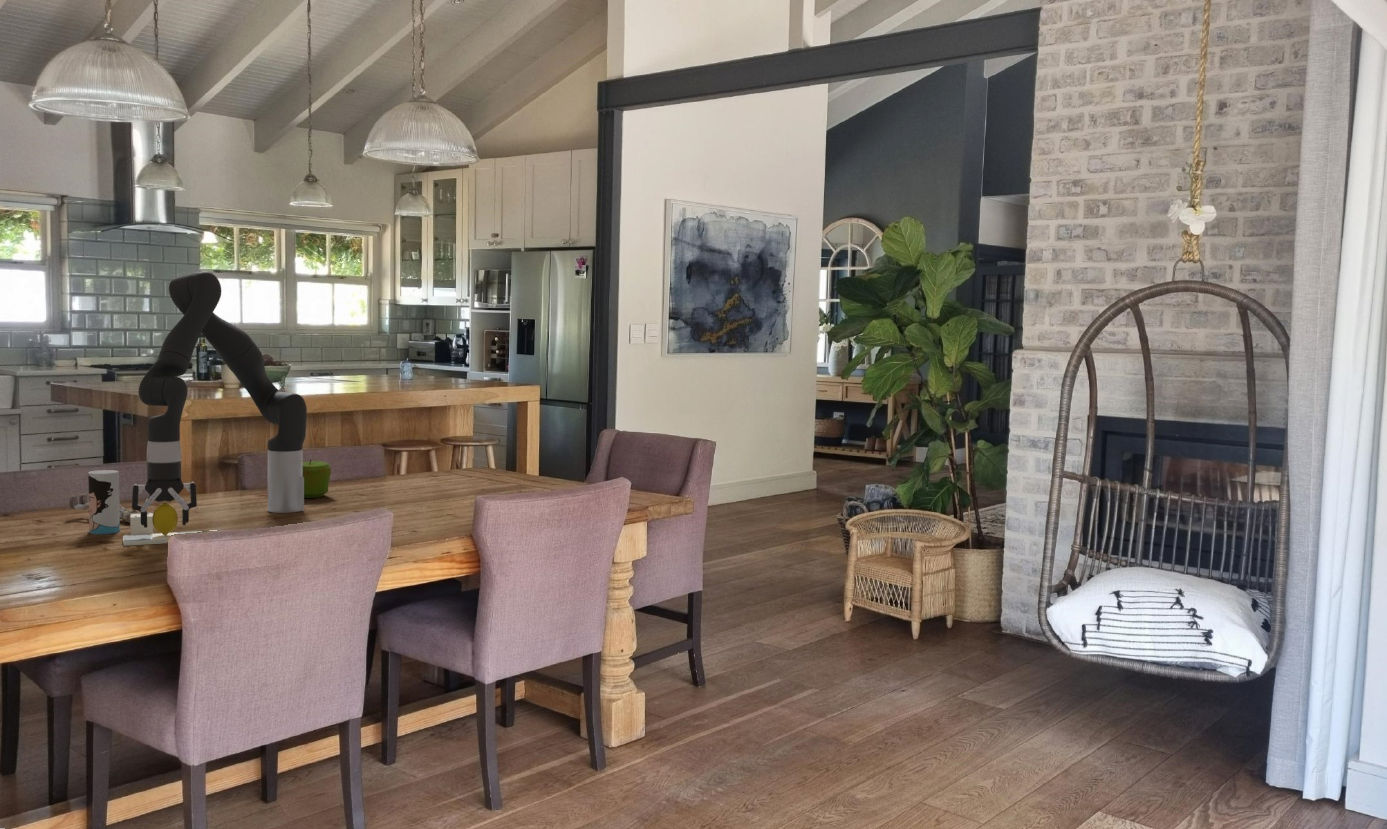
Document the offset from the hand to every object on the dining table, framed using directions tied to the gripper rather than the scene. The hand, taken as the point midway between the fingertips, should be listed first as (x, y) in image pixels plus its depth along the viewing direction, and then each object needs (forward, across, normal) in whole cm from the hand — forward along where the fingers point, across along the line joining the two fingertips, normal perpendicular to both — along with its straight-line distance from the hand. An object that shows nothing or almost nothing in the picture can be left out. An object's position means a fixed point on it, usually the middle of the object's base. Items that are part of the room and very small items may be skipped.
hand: (164, 525), depth 274 cm
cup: (+4, +13, -16) cm, 21 cm away
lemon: (+3, 0, 0) cm, 3 cm away
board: (+4, -3, 0) cm, 5 cm away
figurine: (+4, +12, -32) cm, 34 cm away
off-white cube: (+4, +5, -9) cm, 11 cm away
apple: (+4, -42, -55) cm, 69 cm away
